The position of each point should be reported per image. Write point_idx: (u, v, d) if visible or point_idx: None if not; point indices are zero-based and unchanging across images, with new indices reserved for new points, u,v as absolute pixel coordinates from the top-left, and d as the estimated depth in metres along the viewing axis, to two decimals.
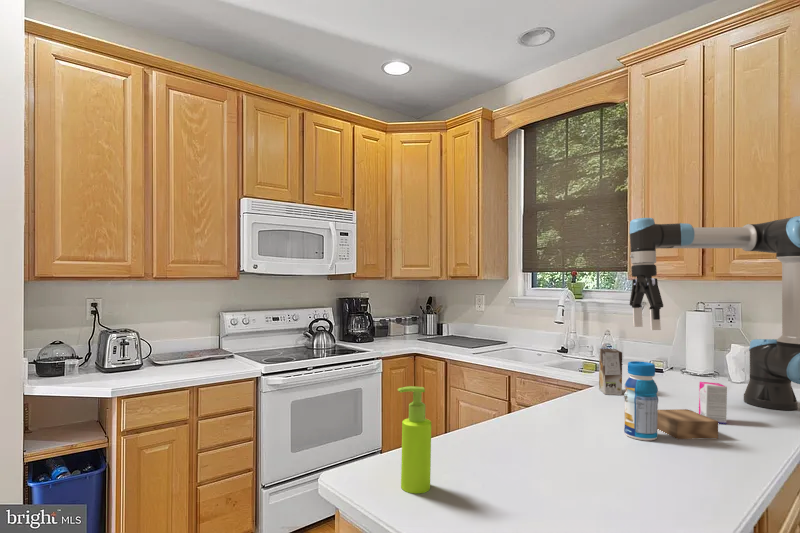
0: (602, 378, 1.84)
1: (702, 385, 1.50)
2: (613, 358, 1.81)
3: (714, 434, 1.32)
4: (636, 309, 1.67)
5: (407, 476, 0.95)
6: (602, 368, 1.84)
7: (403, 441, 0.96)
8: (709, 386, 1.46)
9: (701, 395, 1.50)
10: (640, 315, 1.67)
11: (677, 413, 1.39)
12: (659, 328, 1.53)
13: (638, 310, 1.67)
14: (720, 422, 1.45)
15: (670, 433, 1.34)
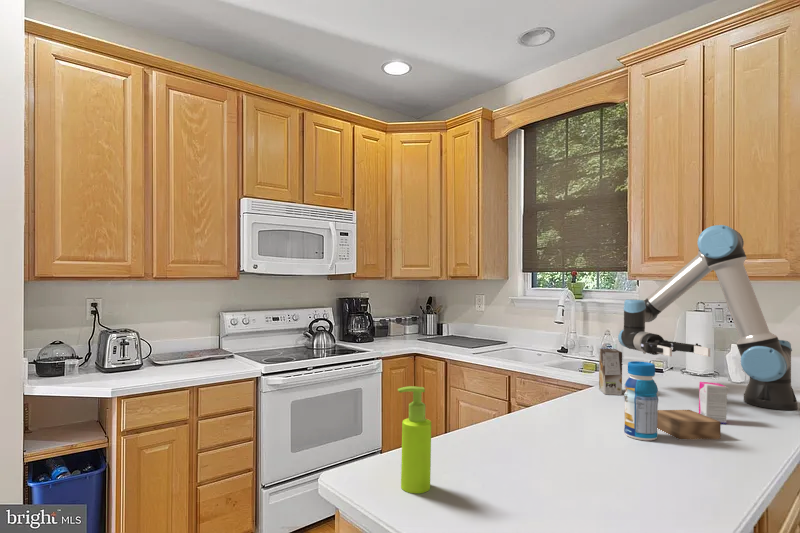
0: (602, 378, 1.84)
1: (702, 385, 1.50)
2: (613, 358, 1.81)
3: (716, 434, 1.32)
4: (695, 350, 1.65)
5: (407, 476, 0.95)
6: (602, 368, 1.84)
7: (403, 441, 0.96)
8: (709, 386, 1.46)
9: (701, 395, 1.50)
10: (699, 348, 1.63)
11: (679, 413, 1.39)
12: (668, 348, 1.58)
13: (695, 349, 1.65)
14: None
15: (672, 434, 1.33)
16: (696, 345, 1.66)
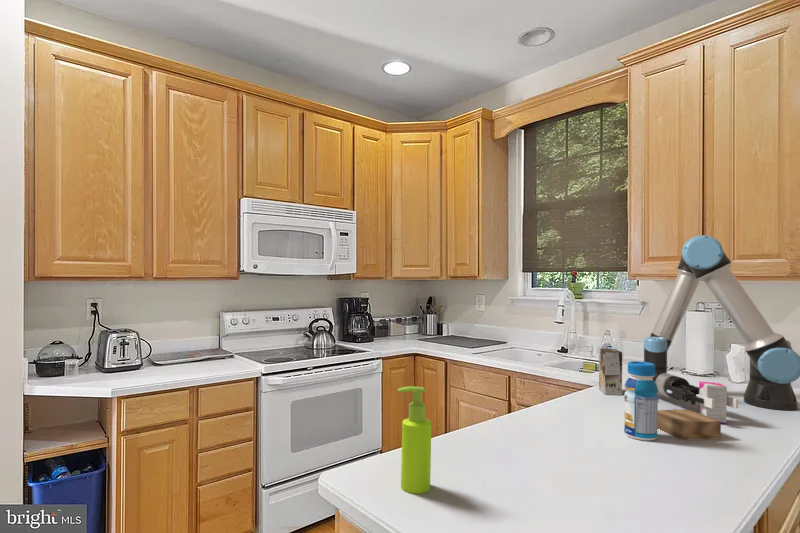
0: (602, 378, 1.84)
1: (702, 385, 1.50)
2: (613, 358, 1.81)
3: (717, 434, 1.32)
4: None
5: (407, 476, 0.95)
6: (602, 368, 1.84)
7: (403, 441, 0.96)
8: (709, 386, 1.46)
9: None
10: None
11: (679, 413, 1.39)
12: (710, 400, 1.44)
13: None
14: None
15: (674, 434, 1.33)
16: None
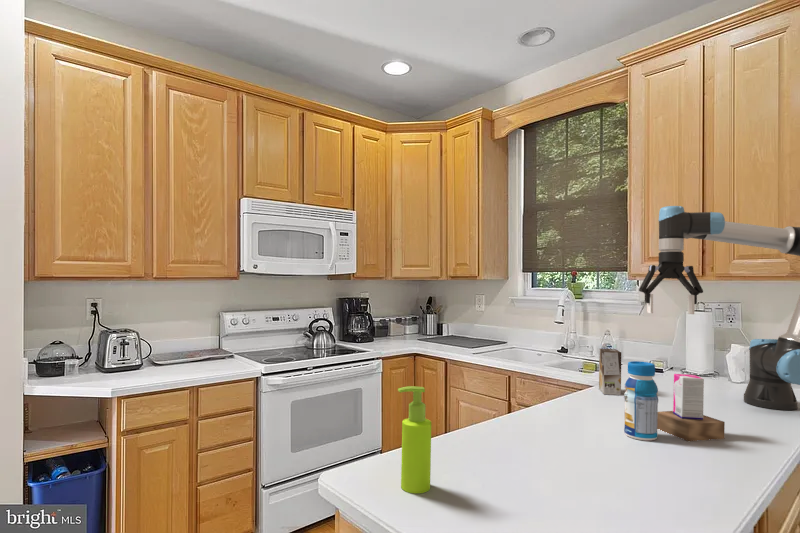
0: (601, 378, 1.84)
1: (677, 377, 1.37)
2: (612, 358, 1.81)
3: (721, 435, 1.32)
4: (689, 296, 1.66)
5: (407, 476, 0.95)
6: (601, 368, 1.84)
7: (403, 441, 0.96)
8: (685, 379, 1.34)
9: (676, 388, 1.38)
10: (691, 302, 1.64)
11: None
12: (650, 311, 1.65)
13: (690, 297, 1.65)
14: (697, 417, 1.33)
15: (680, 436, 1.32)
16: (695, 294, 1.64)
